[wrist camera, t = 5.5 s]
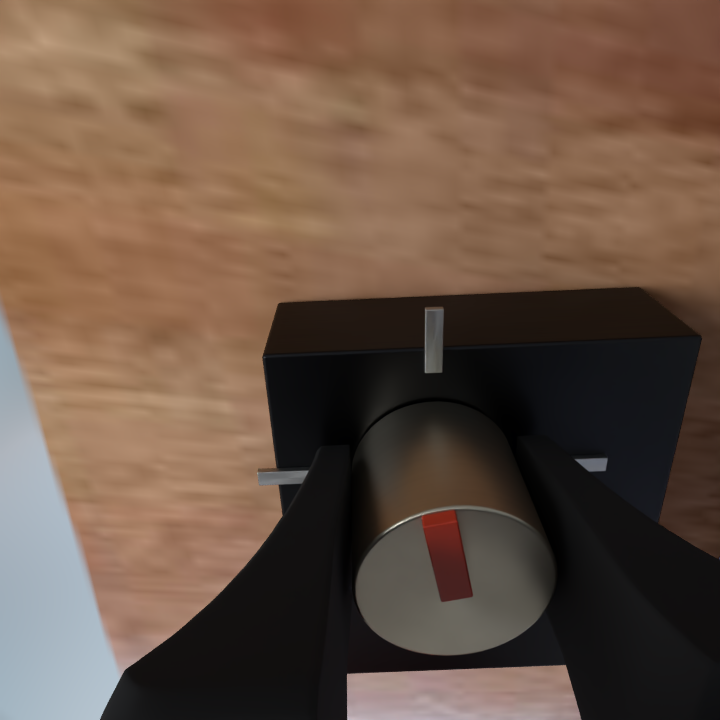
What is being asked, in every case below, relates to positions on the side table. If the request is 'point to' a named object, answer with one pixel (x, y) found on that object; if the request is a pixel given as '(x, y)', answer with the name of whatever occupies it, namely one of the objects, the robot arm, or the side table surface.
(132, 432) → the side table surface
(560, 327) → the console
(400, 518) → the dial
